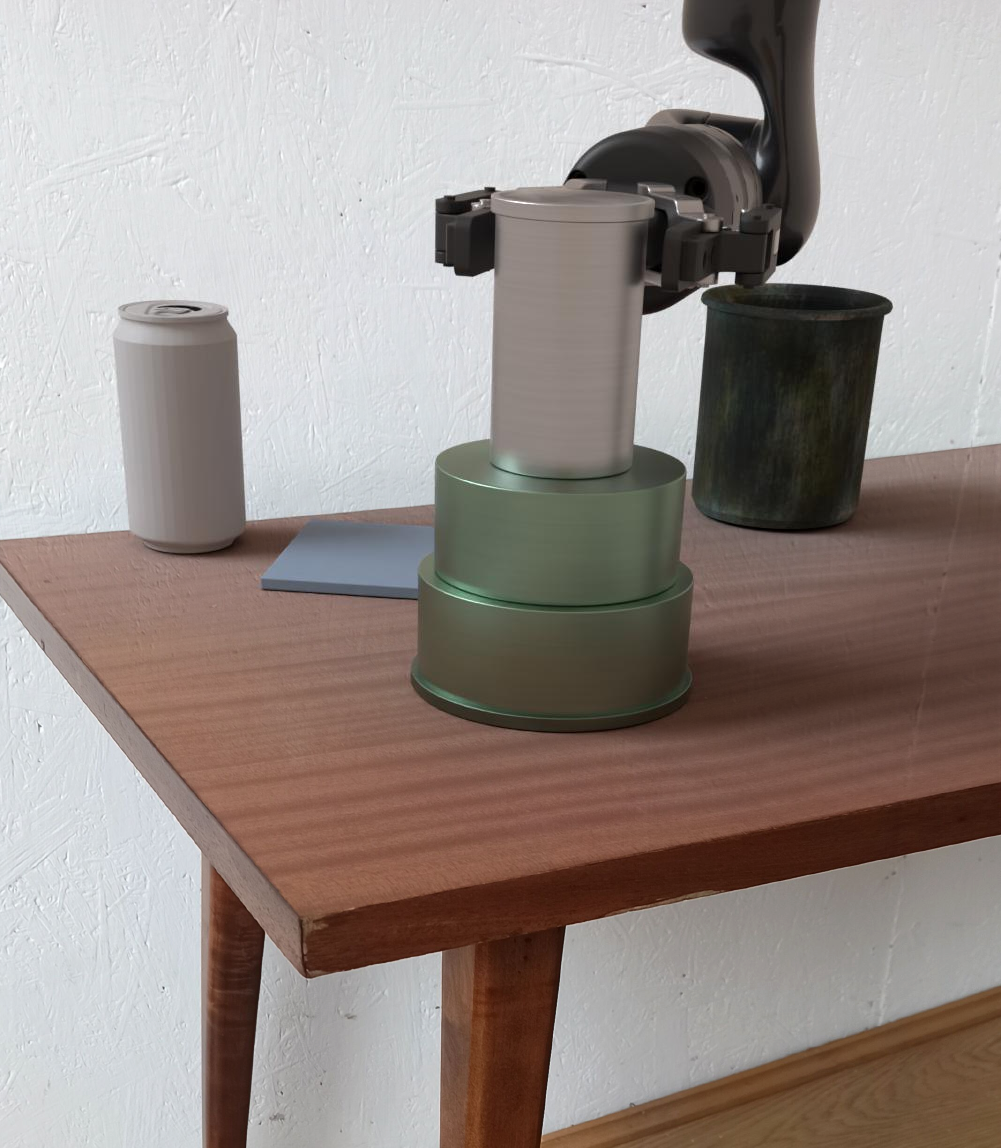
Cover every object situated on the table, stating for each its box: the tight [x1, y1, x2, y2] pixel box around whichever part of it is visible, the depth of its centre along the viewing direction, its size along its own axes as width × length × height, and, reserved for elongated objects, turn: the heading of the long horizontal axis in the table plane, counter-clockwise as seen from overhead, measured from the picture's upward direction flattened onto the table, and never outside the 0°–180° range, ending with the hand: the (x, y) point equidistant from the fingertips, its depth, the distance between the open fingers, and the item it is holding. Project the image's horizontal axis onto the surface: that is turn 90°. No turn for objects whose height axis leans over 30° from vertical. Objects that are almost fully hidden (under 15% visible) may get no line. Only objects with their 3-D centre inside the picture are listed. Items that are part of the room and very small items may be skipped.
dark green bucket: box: [690, 282, 894, 530], centre depth 103 cm, size 11×15×12 cm
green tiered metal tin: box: [410, 438, 695, 733], centre depth 75 cm, size 13×13×10 cm
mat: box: [260, 518, 434, 600], centre depth 93 cm, size 12×12×1 cm
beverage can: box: [112, 299, 247, 554], centre depth 92 cm, size 6×6×12 cm
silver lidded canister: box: [489, 189, 655, 479], centre depth 70 cm, size 6×6×10 cm
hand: (565, 254), depth 68 cm, fingers open, 8 cm apart
